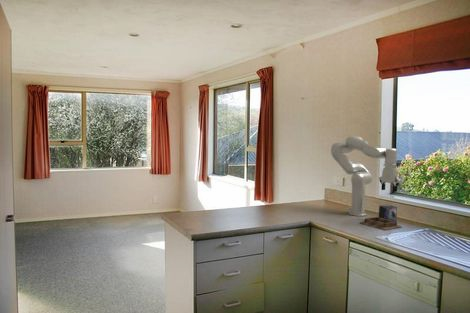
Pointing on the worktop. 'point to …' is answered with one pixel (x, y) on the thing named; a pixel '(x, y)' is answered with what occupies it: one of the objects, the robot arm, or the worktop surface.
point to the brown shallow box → (380, 223)
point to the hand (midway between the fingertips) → (389, 190)
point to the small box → (388, 212)
